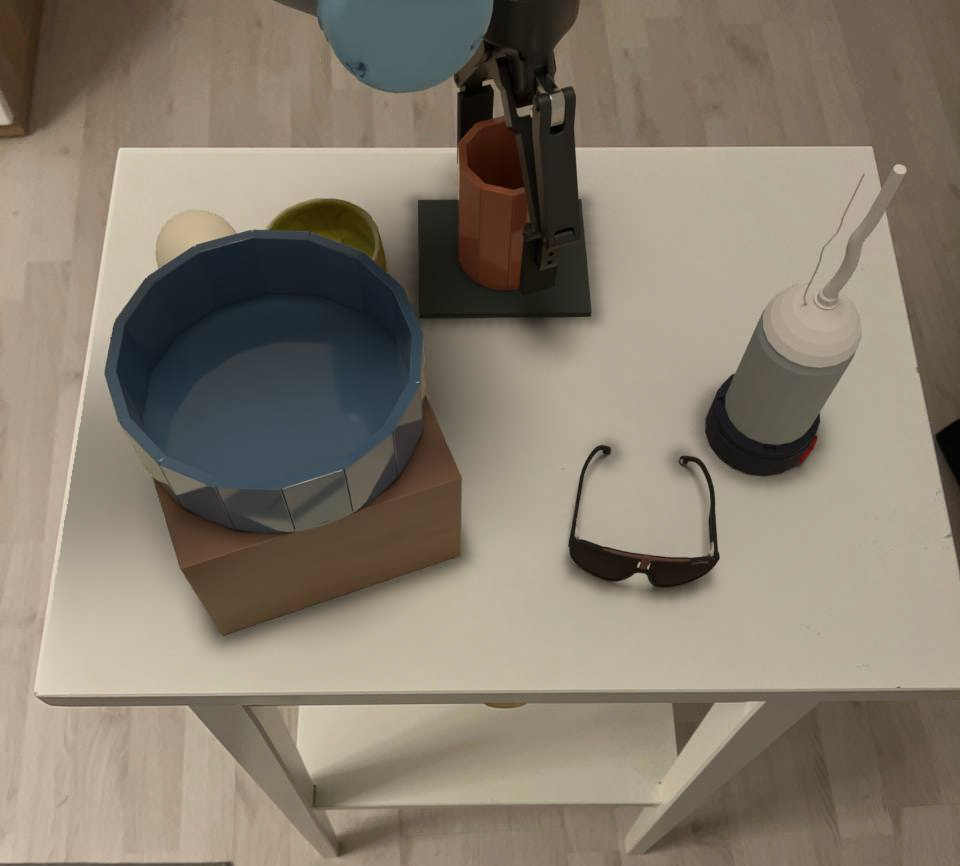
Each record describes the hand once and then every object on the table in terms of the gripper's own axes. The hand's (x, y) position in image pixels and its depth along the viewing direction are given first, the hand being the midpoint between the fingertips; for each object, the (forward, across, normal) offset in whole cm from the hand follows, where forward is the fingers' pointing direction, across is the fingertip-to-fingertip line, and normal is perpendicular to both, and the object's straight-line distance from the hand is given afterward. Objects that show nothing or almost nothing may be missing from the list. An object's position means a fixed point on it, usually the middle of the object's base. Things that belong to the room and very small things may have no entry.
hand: (504, 223), depth 76 cm
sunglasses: (+4, -26, 0) cm, 27 cm away
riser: (+4, -16, +22) cm, 27 cm away
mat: (+4, 0, 0) cm, 4 cm away
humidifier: (+4, -22, -12) cm, 26 cm away
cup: (+3, 0, 0) cm, 3 cm away
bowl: (-7, -16, +22) cm, 28 cm away
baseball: (+4, +6, +24) cm, 24 cm away
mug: (+4, 0, +16) cm, 17 cm away
